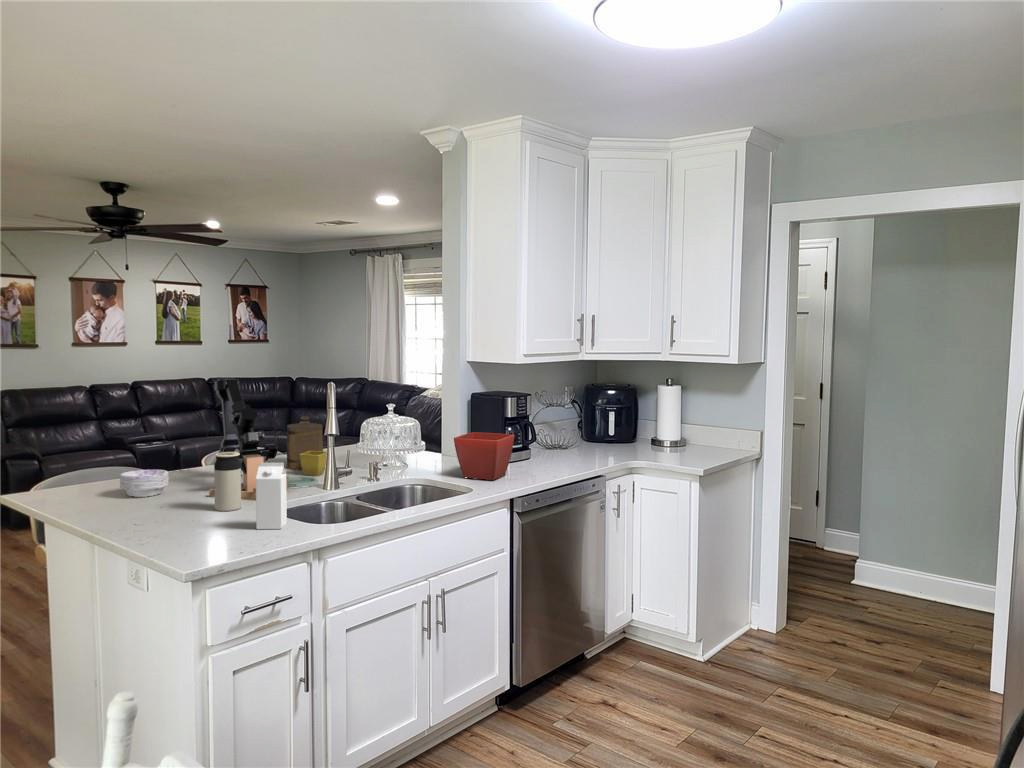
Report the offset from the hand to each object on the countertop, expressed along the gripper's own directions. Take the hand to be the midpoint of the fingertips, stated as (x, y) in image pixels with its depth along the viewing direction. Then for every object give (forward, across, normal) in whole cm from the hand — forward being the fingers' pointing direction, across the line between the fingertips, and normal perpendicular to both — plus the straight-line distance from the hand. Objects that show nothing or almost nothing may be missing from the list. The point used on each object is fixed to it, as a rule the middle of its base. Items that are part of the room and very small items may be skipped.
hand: (254, 472), depth 258 cm
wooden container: (-25, +32, +36) cm, 55 cm away
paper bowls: (-8, -32, +19) cm, 39 cm away
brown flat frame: (+2, 0, +9) cm, 9 cm away
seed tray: (+3, -7, +8) cm, 11 cm away
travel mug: (+18, -13, -6) cm, 23 cm away
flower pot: (-12, +30, +24) cm, 40 cm away
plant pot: (+16, +86, -4) cm, 88 cm away
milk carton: (+38, -7, -27) cm, 48 cm away
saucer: (-1, +19, +12) cm, 22 cm away
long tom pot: (+4, 0, +6) cm, 7 cm away
